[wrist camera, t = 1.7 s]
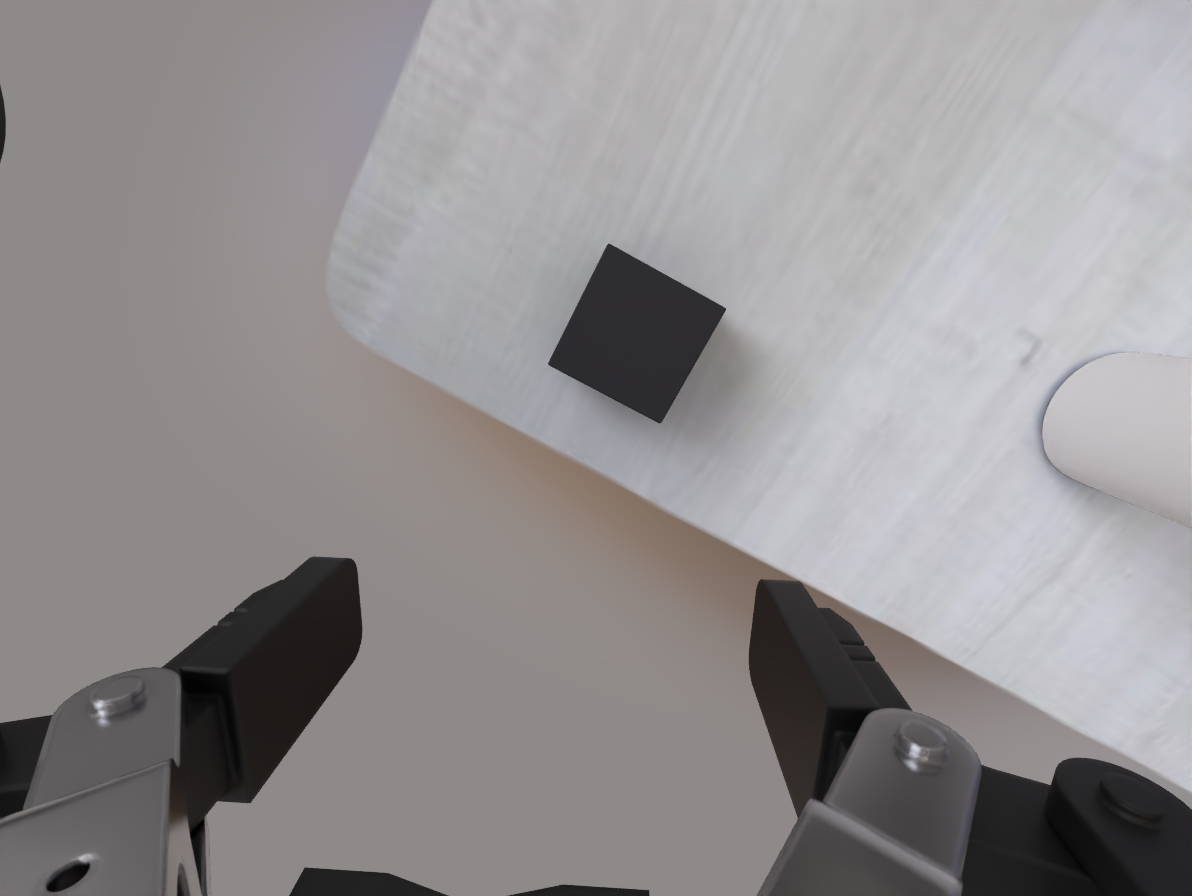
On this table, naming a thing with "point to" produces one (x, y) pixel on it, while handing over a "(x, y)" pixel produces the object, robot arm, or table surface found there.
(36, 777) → the robot arm
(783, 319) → the table surface
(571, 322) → the plug pad
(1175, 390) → the can
